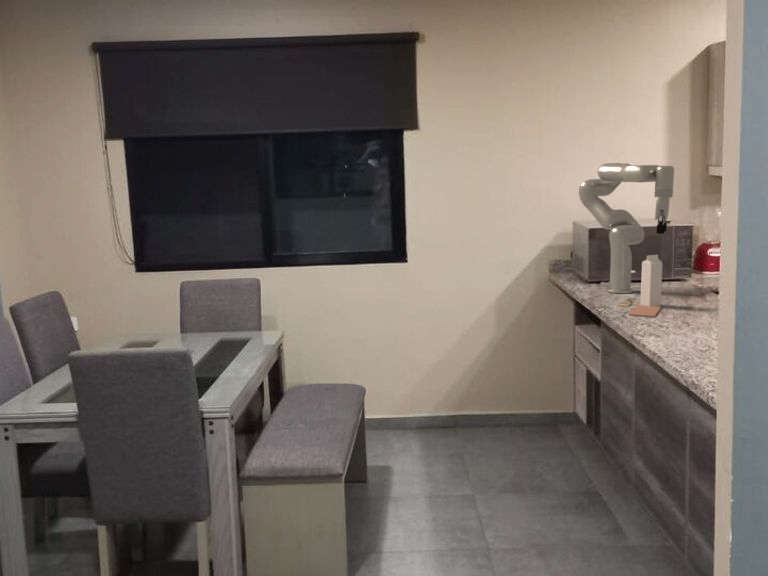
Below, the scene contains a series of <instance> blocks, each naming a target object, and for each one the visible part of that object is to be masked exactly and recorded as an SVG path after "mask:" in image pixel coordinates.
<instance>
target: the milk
mask: <svg viewBox="0 0 768 576" xmlns="http://www.w3.org/2000/svg"><path fill="white" fill-rule="evenodd" d="M640 276H641V279H640V281H641V283H640V301H639V302H640V305H639V306H654V307H661V303H662V284H663V283H662V279H663V261H661V260H660V258H659V254H649V255H646V259H645V260H643V261H642V262H641V275H640Z"/></svg>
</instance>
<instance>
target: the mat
mask: <svg viewBox="0 0 768 576" xmlns="http://www.w3.org/2000/svg"><path fill="white" fill-rule="evenodd" d="M660 310H662V307H661V306H656V307H654V306H643V305H638V304H636V305H635V307H634V308H633V309H632V310H631V311H630V312H629V314H628V316H631V317H641V316H650V317H649V318H655V317H656V316H657V315H658V314H659V312H660Z"/></svg>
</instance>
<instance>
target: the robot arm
mask: <svg viewBox="0 0 768 576" xmlns="http://www.w3.org/2000/svg"><path fill="white" fill-rule="evenodd" d="M597 176H598V178H592V179H587V180H586V179H585V180H584V181H582V182H581V183H580V185H579V187H578V195H579V196H578V197H579V200H580V202H581V203H582V205H583V206H584V207H585V208H586V210H587V211H589V213H590V214H591V215H592V217H594V218H595V220H596V221H597V222H598V223H599V225H600V226H601V227H602V228H603V229H604V230H608V231H609V234H608V239H609V244H610V269H609V271H610V273H609V274H610V276H609V277H610V278H609V281H608V282H605V281H601V282H600V287H607V288H606V289H605V290H606V292H608V293H610V294H611V293H612V294H632V293H634V292H635V289H634V288H631V287H632V286H631V284H632V261H633V259H632V258H633V256H632V251H631V247H630V246H632V245H633V246H634V245H638V244H640V243H642V242H643V241H644V239H645V231H644V228H643V227H642V226H641V224H640V223H639V222H638V221H637V220H636V219H635V217H634V216H633V215H632V214H631V213H630V212H628V210H626V209H613V208H611V207H610V205H608V203H607V202H606V201H605V200H604V199H602V198H600V197H605V196H606V197H607V196H610V195H611V194H613V192H615V190H616V189H617V188H618V187H619V186H620V185H621V183H654V198H656V201H655V203H656V204H655V212H654V213H655V214H654V220H657V224H656V235H657V234H658V235H660V234H661V235H664V234H665V232H667V231H668V230H667V227H668V222H667V220H668V218H669V213H670V212H669V211H670V200H671V199H670V198H673V197H674V196H673V194H674V181H675V180H674V179H675V178H674V177H675V167H674V166H672V165H660V164H641V165H640V164H639V165H632V164H629V163H626V162H625V163H624V162H623V163H620V162H612V163H611V162H607V163H606V162H605V163H603V164H601V165H600V166H599V167H598V168H597Z"/></svg>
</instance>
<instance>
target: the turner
mask: <svg viewBox="0 0 768 576" xmlns="http://www.w3.org/2000/svg"><path fill="white" fill-rule="evenodd" d="M631 305H632V298H627V299H626V300H625V301H622V302H621V303H620V304H619V305H618V306H619V308H620V307H621V308H623V307H624V308H628V307H630V306H631Z"/></svg>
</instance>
